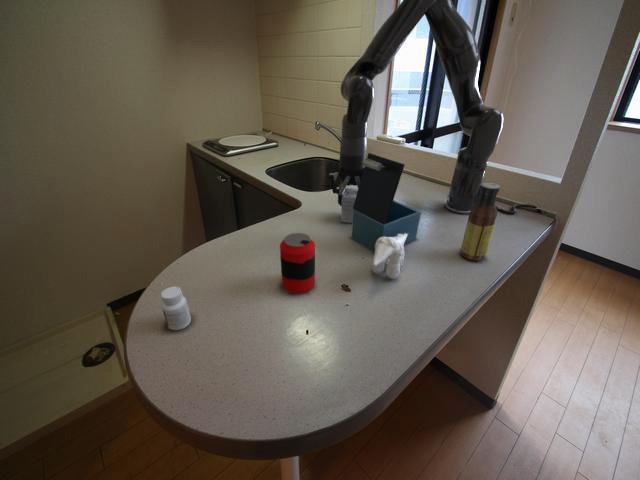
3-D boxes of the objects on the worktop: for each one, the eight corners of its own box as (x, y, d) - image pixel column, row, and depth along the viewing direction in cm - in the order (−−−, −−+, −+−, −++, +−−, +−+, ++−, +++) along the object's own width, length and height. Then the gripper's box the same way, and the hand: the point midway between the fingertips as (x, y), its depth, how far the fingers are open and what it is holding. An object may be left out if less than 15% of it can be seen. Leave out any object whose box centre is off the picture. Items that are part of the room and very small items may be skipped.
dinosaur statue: (356, 289, 72) (360, 247, 66) (394, 243, 90) (399, 207, 84) (384, 299, 69) (391, 257, 63) (417, 250, 87) (425, 214, 81)
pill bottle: (171, 315, 64) (162, 285, 60) (194, 314, 64) (186, 284, 60) (164, 331, 60) (154, 300, 56) (188, 330, 61) (179, 299, 57)
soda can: (302, 299, 69) (301, 252, 63) (275, 287, 72) (272, 242, 66) (321, 281, 74) (321, 236, 68) (294, 270, 78) (293, 227, 72)
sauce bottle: (483, 251, 87) (506, 182, 76) (485, 264, 81) (510, 191, 71) (458, 247, 88) (477, 179, 78) (458, 259, 83) (479, 188, 73)
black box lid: (370, 153, 82) (355, 150, 79) (405, 164, 74) (390, 161, 71) (354, 208, 88) (340, 208, 84) (385, 224, 80) (371, 225, 76)
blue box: (386, 224, 100) (389, 198, 95) (415, 239, 92) (421, 212, 87) (351, 237, 92) (353, 210, 88) (380, 255, 84) (384, 226, 80)
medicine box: (354, 223, 99) (356, 197, 95) (340, 222, 100) (341, 196, 95) (357, 212, 106) (359, 188, 101) (344, 211, 106) (345, 187, 102)
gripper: (375, 148, 95) (370, 200, 104) (327, 148, 95) (326, 200, 104) (380, 155, 89) (374, 209, 98) (329, 155, 89) (327, 210, 97)
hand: (349, 204), depth 101 cm, fingers closed on medicine box, 5 cm apart
